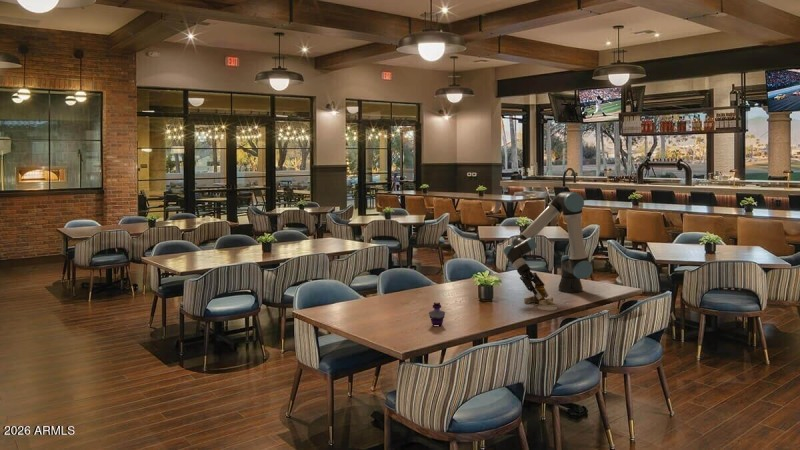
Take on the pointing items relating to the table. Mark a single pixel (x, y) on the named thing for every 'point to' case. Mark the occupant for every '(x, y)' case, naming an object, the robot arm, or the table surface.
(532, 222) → the robot arm
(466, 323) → the table surface
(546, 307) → the plate
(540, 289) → the condiment
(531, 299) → the rail holder
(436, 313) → the potion bottle
